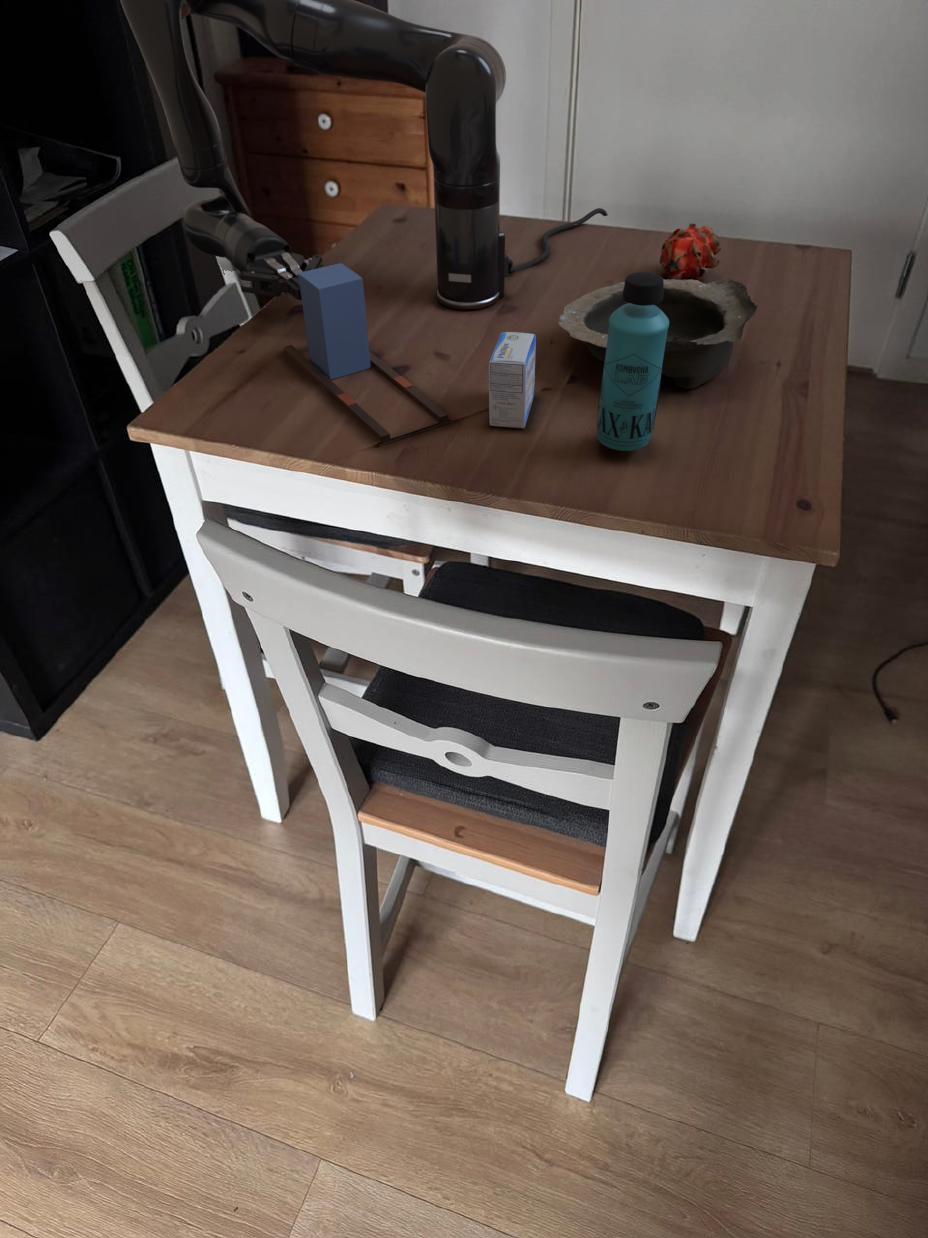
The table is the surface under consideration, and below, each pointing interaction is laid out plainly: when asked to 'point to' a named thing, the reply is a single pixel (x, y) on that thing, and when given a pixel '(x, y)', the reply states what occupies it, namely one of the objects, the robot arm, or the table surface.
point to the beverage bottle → (633, 365)
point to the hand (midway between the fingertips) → (308, 294)
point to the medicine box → (512, 379)
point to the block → (335, 320)
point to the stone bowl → (673, 325)
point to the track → (357, 410)
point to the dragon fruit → (690, 253)
